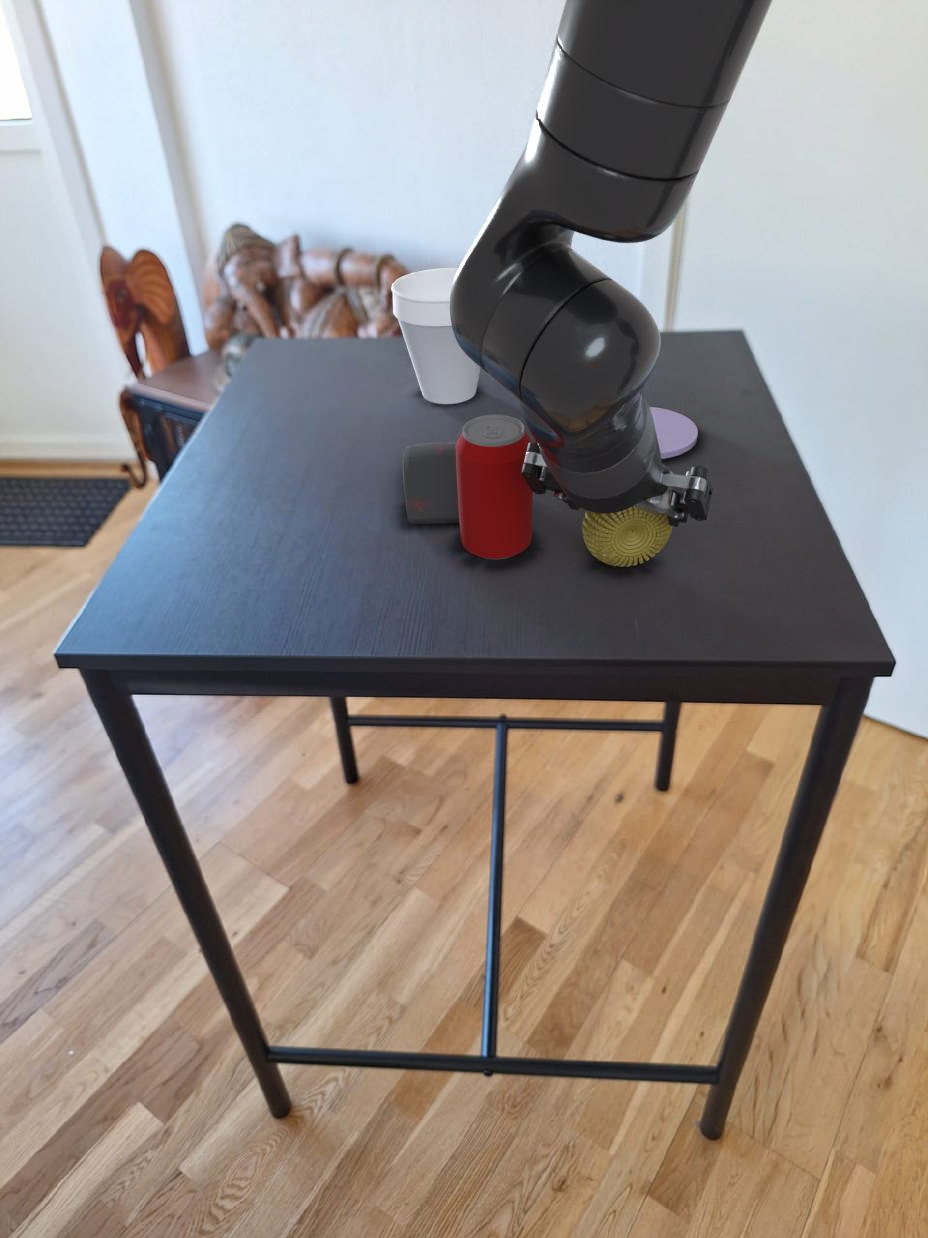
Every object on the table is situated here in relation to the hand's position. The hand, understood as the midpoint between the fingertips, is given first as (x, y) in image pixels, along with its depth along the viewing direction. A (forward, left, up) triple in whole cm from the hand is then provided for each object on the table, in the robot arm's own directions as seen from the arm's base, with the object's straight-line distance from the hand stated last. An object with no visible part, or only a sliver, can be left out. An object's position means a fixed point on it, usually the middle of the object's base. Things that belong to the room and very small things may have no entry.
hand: (626, 506), depth 72 cm
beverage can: (+12, 0, -6) cm, 14 cm away
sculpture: (0, -1, -6) cm, 6 cm away
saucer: (+4, -26, -6) cm, 27 cm away
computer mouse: (+21, -8, -6) cm, 23 cm away
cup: (+30, -31, -6) cm, 43 cm away
